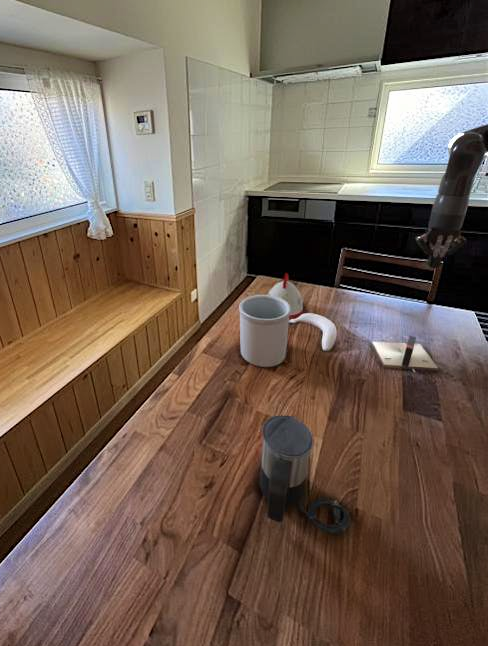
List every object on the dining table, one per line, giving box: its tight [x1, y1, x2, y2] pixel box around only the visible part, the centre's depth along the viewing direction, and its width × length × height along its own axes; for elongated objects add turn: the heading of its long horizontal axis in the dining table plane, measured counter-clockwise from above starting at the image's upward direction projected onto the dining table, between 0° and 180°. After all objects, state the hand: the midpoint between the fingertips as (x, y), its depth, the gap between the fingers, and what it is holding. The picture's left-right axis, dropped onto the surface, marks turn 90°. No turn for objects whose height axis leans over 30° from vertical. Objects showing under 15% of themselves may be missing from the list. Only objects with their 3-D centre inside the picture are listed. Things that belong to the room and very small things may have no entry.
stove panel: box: [370, 341, 439, 373], centre depth 99 cm, size 14×14×2 cm
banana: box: [289, 312, 338, 352], centre depth 113 cm, size 5×19×15 cm
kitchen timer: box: [266, 272, 304, 320], centre depth 126 cm, size 14×14×15 cm
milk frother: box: [259, 414, 352, 535], centre depth 62 cm, size 14×16×15 cm
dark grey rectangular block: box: [402, 335, 417, 367], centre depth 96 cm, size 7×2×6 cm, turn 143°
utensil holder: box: [238, 294, 290, 368], centre depth 102 cm, size 15×15×18 cm
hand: (432, 267), depth 99 cm, fingers closed
